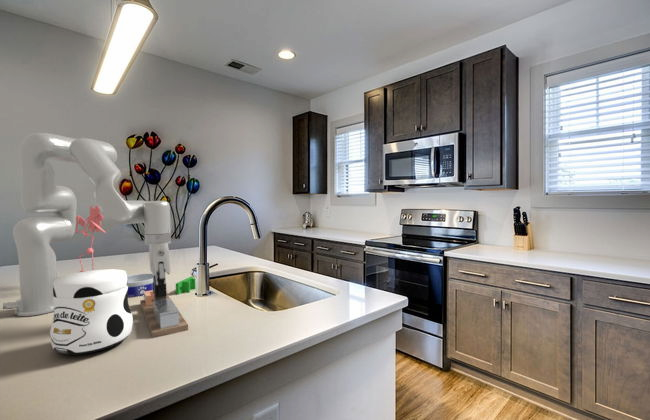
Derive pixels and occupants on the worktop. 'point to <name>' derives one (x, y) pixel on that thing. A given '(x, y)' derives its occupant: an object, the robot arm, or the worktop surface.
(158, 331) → the board
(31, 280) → the robot arm
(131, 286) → the dog bowl
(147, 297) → the socket
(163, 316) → the grey concrete brick
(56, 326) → the milk container
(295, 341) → the worktop surface
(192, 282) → the pipe clamp
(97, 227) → the figurine
